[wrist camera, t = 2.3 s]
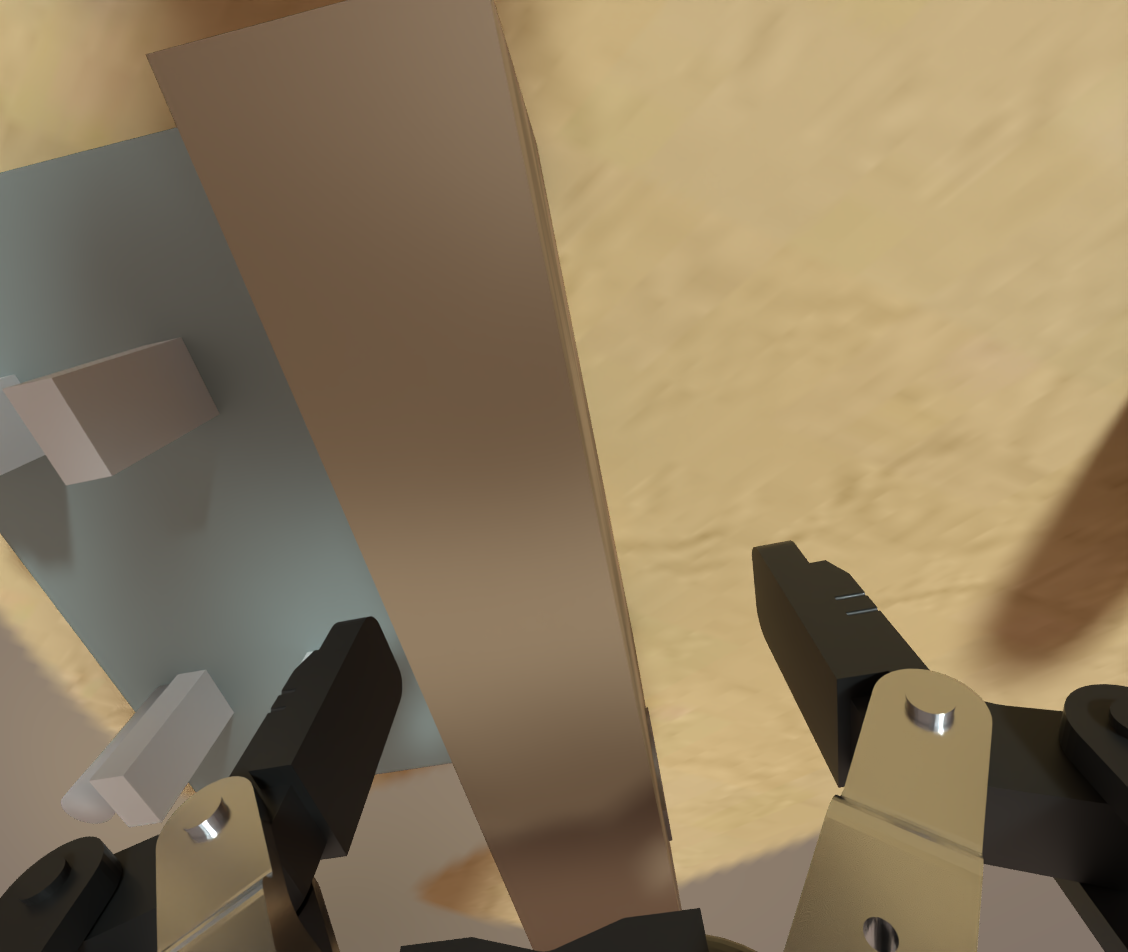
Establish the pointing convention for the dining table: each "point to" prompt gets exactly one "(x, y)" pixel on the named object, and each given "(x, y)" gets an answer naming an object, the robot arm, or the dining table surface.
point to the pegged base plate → (166, 474)
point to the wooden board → (446, 413)
